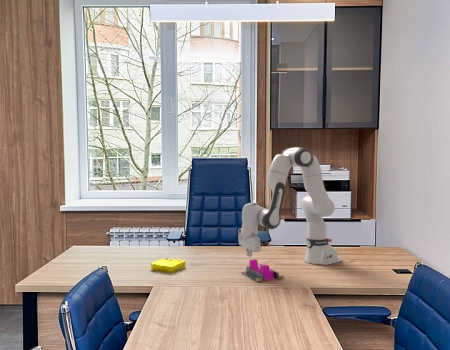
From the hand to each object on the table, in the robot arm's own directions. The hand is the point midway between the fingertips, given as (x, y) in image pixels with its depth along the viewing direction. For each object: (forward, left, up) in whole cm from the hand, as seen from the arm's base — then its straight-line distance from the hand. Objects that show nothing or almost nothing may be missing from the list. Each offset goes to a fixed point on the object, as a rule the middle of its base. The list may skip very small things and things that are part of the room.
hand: (249, 256), depth 263 cm
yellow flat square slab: (+41, -21, -8) cm, 47 cm away
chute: (0, +14, -8) cm, 16 cm away
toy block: (0, +14, -8) cm, 16 cm away
